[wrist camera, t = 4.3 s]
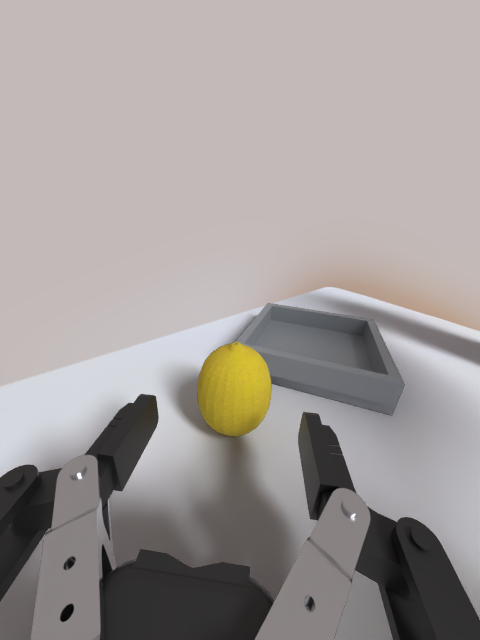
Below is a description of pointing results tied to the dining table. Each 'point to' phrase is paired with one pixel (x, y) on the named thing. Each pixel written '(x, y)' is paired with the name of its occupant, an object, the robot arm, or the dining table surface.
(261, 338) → the tray
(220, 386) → the lemon
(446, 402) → the dining table surface
